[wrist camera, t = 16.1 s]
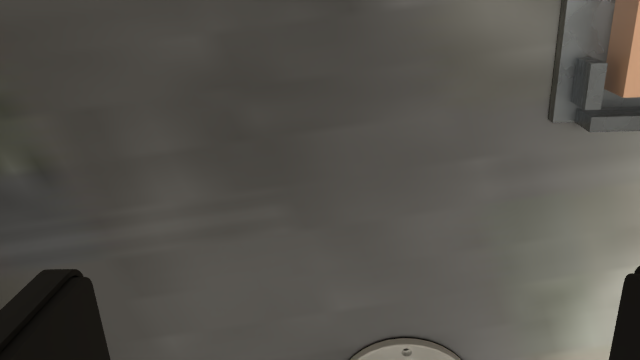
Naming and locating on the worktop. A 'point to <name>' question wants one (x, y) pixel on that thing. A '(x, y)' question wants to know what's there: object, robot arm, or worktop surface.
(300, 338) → the worktop surface
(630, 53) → the clay strip
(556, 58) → the drying rack
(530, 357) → the worktop surface
